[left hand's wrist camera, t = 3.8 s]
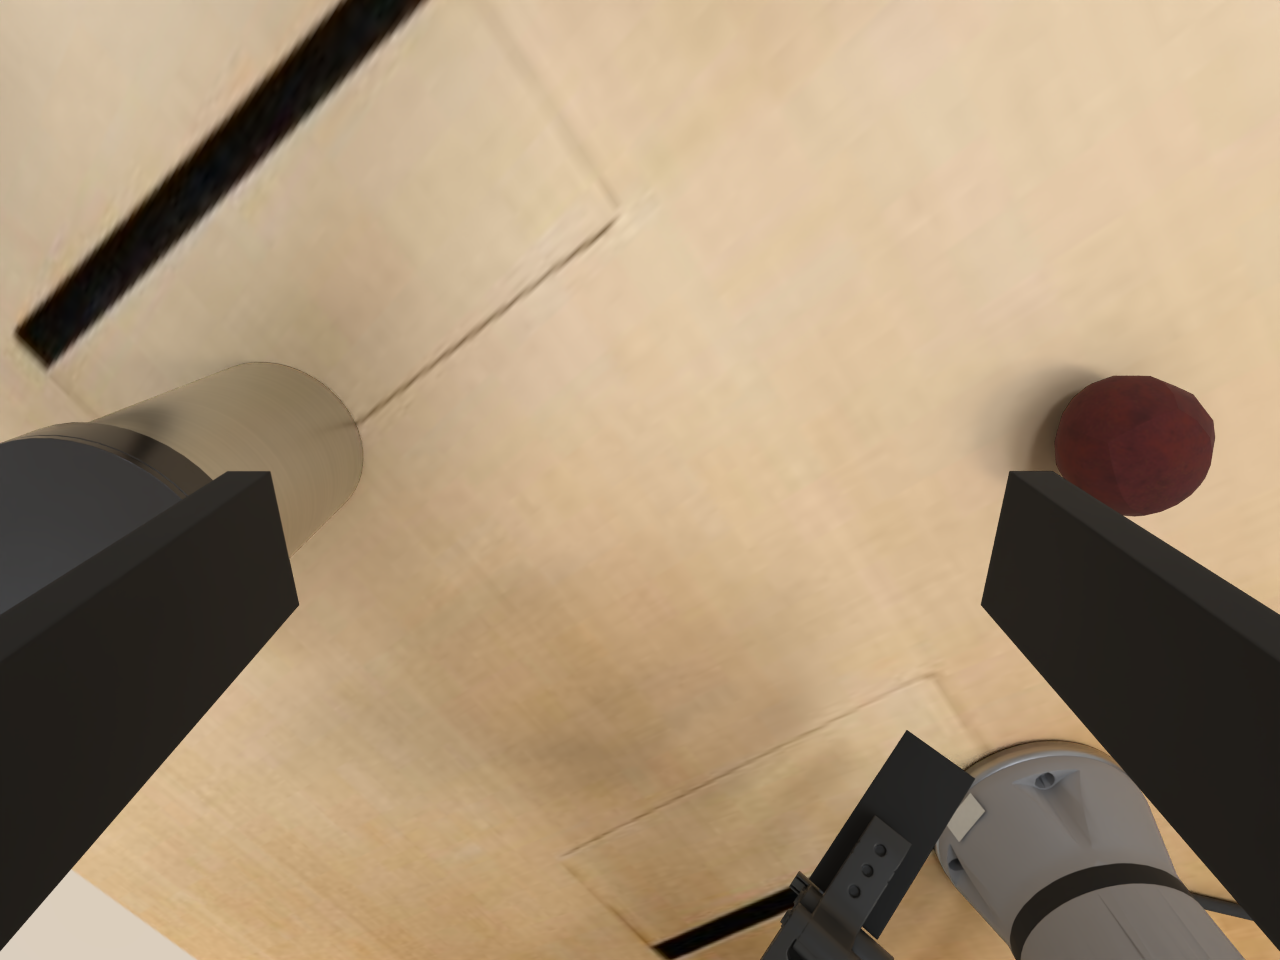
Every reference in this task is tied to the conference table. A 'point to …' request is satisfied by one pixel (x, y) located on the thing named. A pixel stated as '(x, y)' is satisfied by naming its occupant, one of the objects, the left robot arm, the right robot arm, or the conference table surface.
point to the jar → (261, 437)
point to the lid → (79, 498)
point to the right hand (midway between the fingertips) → (915, 776)
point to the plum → (1135, 443)
